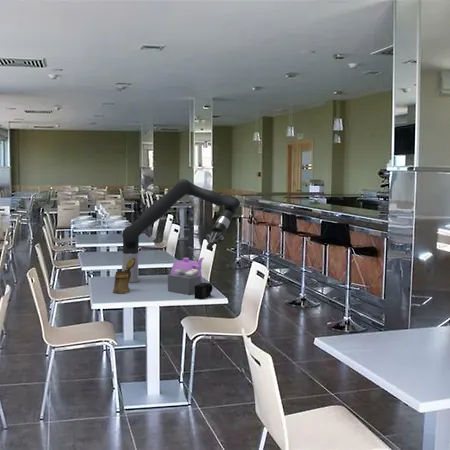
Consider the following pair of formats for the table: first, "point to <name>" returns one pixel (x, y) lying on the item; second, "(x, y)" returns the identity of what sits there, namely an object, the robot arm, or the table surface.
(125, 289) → the wooden mug
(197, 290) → the digital camera
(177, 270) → the back rocker
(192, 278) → the switch box
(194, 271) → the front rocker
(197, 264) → the teapot
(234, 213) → the robot arm
